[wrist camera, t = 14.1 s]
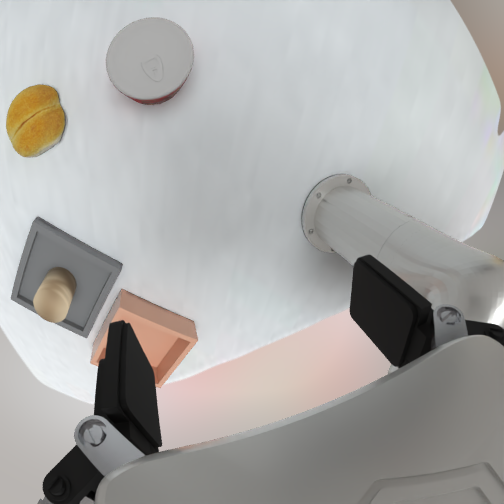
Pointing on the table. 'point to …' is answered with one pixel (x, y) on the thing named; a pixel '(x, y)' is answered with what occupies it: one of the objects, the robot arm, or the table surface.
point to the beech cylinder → (55, 295)
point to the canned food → (150, 60)
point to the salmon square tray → (150, 334)
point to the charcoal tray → (74, 260)
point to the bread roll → (35, 120)
